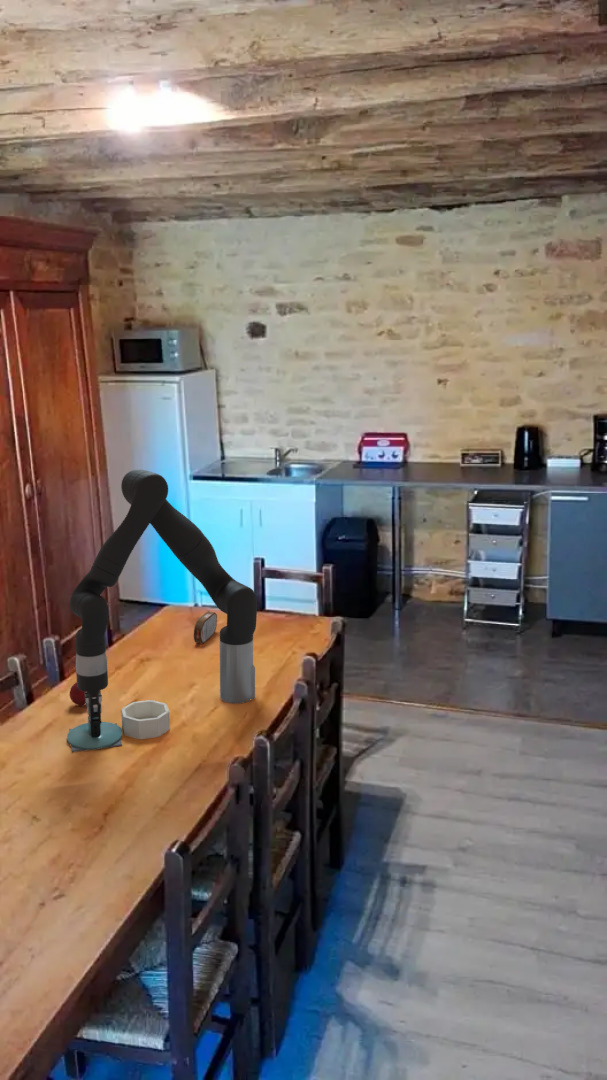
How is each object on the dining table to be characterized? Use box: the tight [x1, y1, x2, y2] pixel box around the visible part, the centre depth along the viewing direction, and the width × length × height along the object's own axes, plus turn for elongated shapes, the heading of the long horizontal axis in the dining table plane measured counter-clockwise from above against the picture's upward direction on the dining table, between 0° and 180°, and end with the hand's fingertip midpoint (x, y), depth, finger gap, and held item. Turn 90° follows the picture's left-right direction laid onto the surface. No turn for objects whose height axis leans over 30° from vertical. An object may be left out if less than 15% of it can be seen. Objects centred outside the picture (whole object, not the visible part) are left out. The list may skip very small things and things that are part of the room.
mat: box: [68, 722, 123, 753], centre depth 223 cm, size 12×12×1 cm
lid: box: [66, 715, 124, 751], centre depth 222 cm, size 14×14×5 cm
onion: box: [69, 681, 86, 707], centre depth 240 cm, size 6×6×8 cm
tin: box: [193, 610, 218, 644], centre depth 291 cm, size 15×3×8 cm, turn 164°
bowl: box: [120, 699, 171, 740], centre depth 228 cm, size 12×12×5 cm
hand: (94, 731), depth 223 cm, fingers open, 5 cm apart
